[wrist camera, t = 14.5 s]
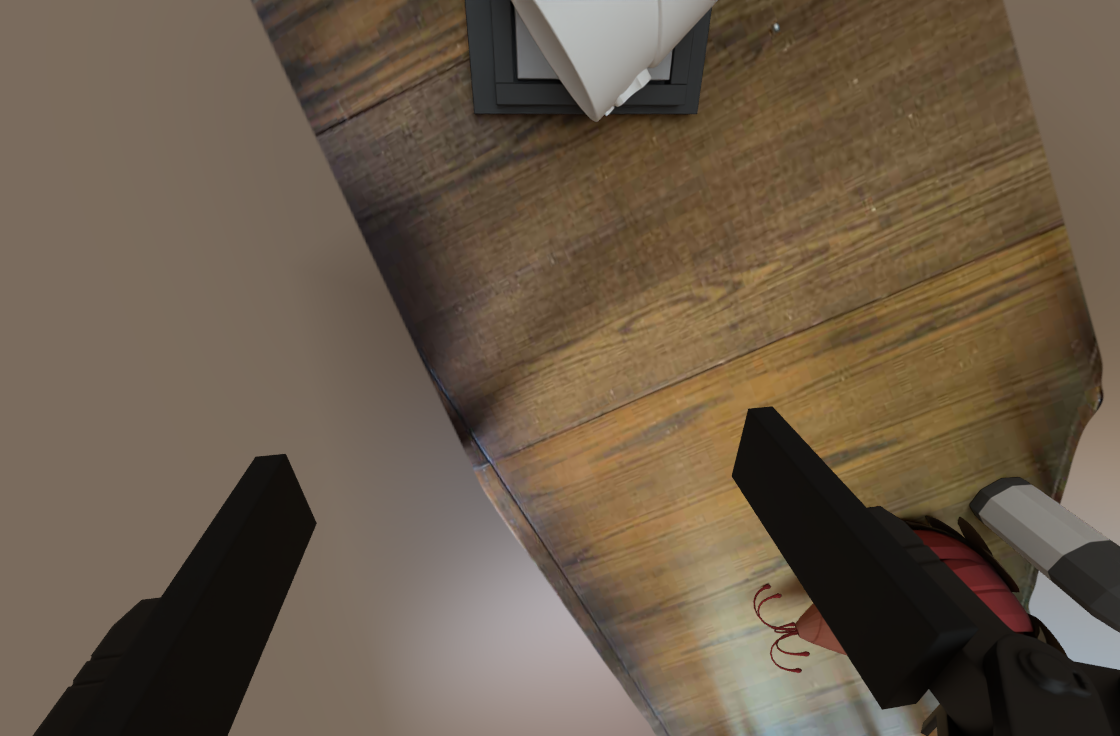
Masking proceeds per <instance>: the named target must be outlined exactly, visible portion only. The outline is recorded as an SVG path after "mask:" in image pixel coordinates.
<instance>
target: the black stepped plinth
mask: <svg viewBox="0 0 1120 736" xmlns="http://www.w3.org/2000/svg"><path fill="white" fill-rule="evenodd" d="M465 8H466V20H467V32H468V44H469V56H470V68H471V80H472V92H473V104H474V114H586V113H585V112H584V111H583V110H582V109H581V108H580V106H579V105H578V104H577V103H576V101H575V100H574V99H573V97H572V96H571V95H570V93H569V92H568V91H567V89H566V88H565V86H564V85H563V84H562V82H561V81H560V80H518V79H517V67H516V42H515V17H514V5H513V3H512V1H511V0H465ZM711 10H712V7H711V8H710V9H709V10H708V11H707V13H706V14H705V15H704V16H703V17H702V18H701V19H700V20H699V21H698V22H697V23H696V24H695V25H694V27H693V28H692V29H691V30H690V31H689V32H688V33H687V34H686V35H685V36H684V37H683V38H682V40H681V41H680V42H679V43H678V44H677V45H676V46H675V47H674V48H673V49H672V58H671V67H670V77H669V80H664V81H649V82H648V83H647V84H646V85H645V86H644V87H643V88H641V89H639V90H638V91H637V92H635V93H634V94H633V95H632V96H630V97H629V98H628V99H627V100H626V101H625V102H624V104H622V105H620V106H619V107H617V106H614V109H613V110H612V111H611V112H610V113H609V114H697V111H698V103H699V96H700V89H701V82H702V75H703V67H704V60H705V53H706V46H707V39H708V32H709V24H710V17H711Z"/></svg>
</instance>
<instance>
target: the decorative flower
mask: <svg viewBox="0 0 1120 736" xmlns="http://www.w3.org/2000/svg"><path fill="white" fill-rule="evenodd" d="M926 519H927V520H928V522H929V524H930V525H931V526H932V527H930V526H927V525H923V524H919V523H914V522H909V521H904V522H905V523H906V524H908V525H910V526H912V527H915V528H917V529H920V530H914V532H915V533H916V534H917V535H918V536H919V537H920V538H921V539H922V540H923V543H924V545H928V546H929V547H930V548H931V549H932V550H933V551H934V552H935V553H936V554H937V555H938V556H939V559H940V561H941V562H945V563H946V564H947V566H948V567H949V568H950V569H951V570H952V571H953V572H954V573H955V574H956V575H957V576H958V577H959V578H960V579H961V580H962V581H963V582H964V583H965V584H966V585H967V586H968V587H969V588H970V589H971V590H972V591H973V592H974V593H975V594H976V595H977V596H978V597H979V598H980V599H981V600H982V601H983V602H984V603H985V604H986V605H987V606H988V607H989V608H990V609H991V610H992V611H993V612H994V613H995V614H996V615H997V616H998V617H999V618H1000V619H1001V620H1002V621H1003V622H1004V623H1005V624H1006V625H1007V626H1008V627H1009V628H1011V629H1012V630H1013V631H1014V632H1015V633H1016V634H1023V635H1026V636H1030V637H1033V638H1037V639H1039V640H1041V641H1043V642H1045V643H1046V644H1048V645H1050V646H1052V647H1054V648H1056V649H1057V650H1059V651H1060V652H1061V653H1063V654H1064V655H1065V656H1067V655H1066V653H1065V651H1064V649H1063V648H1062V646H1061V645H1060V643H1059V642H1058V641H1057V639H1056V638H1055V637H1054V635H1053V634H1052V633H1051V632H1050V631H1049V630H1048V629H1047V627H1046V626H1045V625H1044V624H1043V623H1042V622H1041V621H1040V620H1039V619H1038V618H1036V617H1034V616H1032V615H1030V614H1028V613H1026V611H1025V610H1024V608H1023V607H1022V605H1021V604H1020V602H1019V601H1018V600H1017V598H1016V597H1015V595H1014V594H1013V593H1012V592H1019V588H1018V586H1017V585H1016V583H1015V582H1014V580H1013V579H1012V578H1011V576H1010V575H1009V574H1008V572H1007V571H1006V570H1005V569H1004V568H1003V567H1002V566H1001V565H1000V564H999V562H998V561H997V560H996V559H995V558H994V557H993V555H992V553H991V551H990V550H989V548H988V547H987V545H986V544H985V542H984V541H983V539H982V538H981V537H980V535H979V534H978V533H977V532H976V530H975V529H974V528H973V527H972V526H971V525H970V524H969V523H968V522H967V521H966V520H964V519H963V518H961V517H959V519H958V525H959V527H960V529H961V531H962V533H963V535H964V537H965V538H964V537H963V536H962V535H960V534H959V533H958V532H957V531H955V530H954V529H952V528H951V527H949V526H948V525H946V524H945V523H943V522H941V521H939V520H938V519H935V518H933V517H929V516H926ZM770 588H771V586H770V585H769V584H767V585H765V586H764V587H763V588H761V589H760V590H759V591H758V592H757V593H756V595H755V597H754V601H753V602H754V609H755V611H756V608H755V600H756V597H757V595H758V594H759V593H760V592H761V591H763V590H765V589H770ZM780 597H782V595H781V594H779V593H777V594H775V595H773V596H770V597H768V598H766V599H764V600H763V601H762V602H761V603H760V604H759V606H758V610H757V611H758V613H757V611H756V614H757V616H758V617H759V618H760V619H761V621H762V622H763V623H764V624H766V625H768V626H769V627H771V628H772V629H775V630H774V631H775V632H776V633H788V634H785V635H783V636H782V637H780V638H779V639H778V640H776V642H775V643H774V644H773V645H772V647H771V651H770V655H771V659H772V661H773V662H774V663H775V665H777V666H778V667H779V668H781V669H784V670H787V671H792V672H797V673H800V672H801V671H802V670H801V669H800V668H796V669H787V668H783V667H781V666H779V665H778V664H776V662H775V661H774V660H773V657H772V654H771V653H772V648H773V646H774V645H775V644H776V646H777V649H778V650H780V651H781V652H783V653H785V654H790V655H798V656H809V655H810V653H809V652H807V651H805V652H801V653H789V652H785V651H782V650H781V649H780V648H778V645H777V644H778V642H779V640H781V639H784V638H786V637H789V636H791V635H797V634H798V635H799V637H800V638H802V639H804V640H806V641H808V642H811V643H813V644H816V645H818V646H821V647H824V648H826V649H829V650H832V651H835V652H838V653H841V654H844V655H847V654H846V653H845V651H844V650H843V648H842V647H841V645H840V643H839V642H838V640H837V639H836V637H835V636H834V634H833V633H832V631H831V629H830V628H829V626H828V625H827V623H826V622H825V620H824V619H823V617H822V616H821V614H820V612H819V611H818V609H817V608H816V606H815V605H814V603H813V604H812V605H811V606H810V607H809V608H808V609H807V610H806V612H805V613H804V614H803V615H802V616H801V617H800V618H799V620H798V621H797V622H796V624H795V623H794V622H792V623H789V624H786V625H783V626H780V627H776V626H771V625H769V624H767V623H766V622H764V621H763V620H762V618H761V617H760V614H759V609H760V606H761V605H762V603H763V602H765V601H767V600H768V599H772V598H780ZM787 626H795V628H782V627H787ZM776 630H785V631H783V632H779V631H776ZM792 630H794V631H792ZM784 636H785V637H784Z"/></svg>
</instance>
